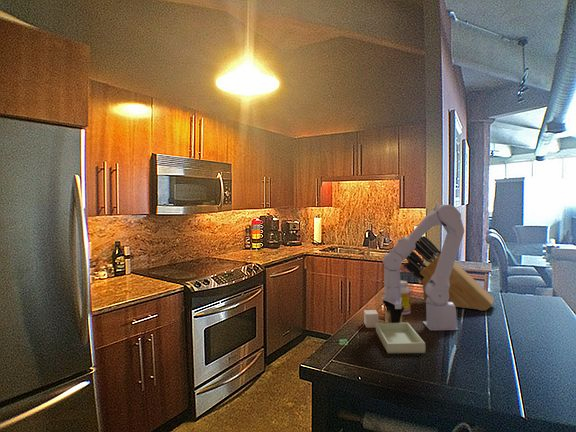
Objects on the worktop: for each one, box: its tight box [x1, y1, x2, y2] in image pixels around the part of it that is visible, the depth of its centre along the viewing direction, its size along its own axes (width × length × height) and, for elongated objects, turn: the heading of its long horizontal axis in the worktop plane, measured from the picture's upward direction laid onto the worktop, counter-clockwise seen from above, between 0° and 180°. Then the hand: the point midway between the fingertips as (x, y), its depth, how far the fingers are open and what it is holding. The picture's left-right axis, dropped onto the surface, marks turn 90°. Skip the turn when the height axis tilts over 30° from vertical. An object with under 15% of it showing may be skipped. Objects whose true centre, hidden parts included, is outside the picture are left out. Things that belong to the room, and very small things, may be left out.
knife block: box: [403, 235, 495, 312], centre depth 145 cm, size 11×35×31 cm, turn 54°
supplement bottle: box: [400, 279, 412, 316], centre depth 136 cm, size 7×7×13 cm
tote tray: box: [375, 322, 427, 355], centre depth 109 cm, size 11×17×3 cm, turn 177°
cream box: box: [363, 309, 380, 328], centre depth 124 cm, size 4×4×5 cm
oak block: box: [384, 309, 403, 323], centre depth 122 cm, size 5×5×5 cm
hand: (393, 322), depth 122 cm, fingers closed on oak block, 5 cm apart
